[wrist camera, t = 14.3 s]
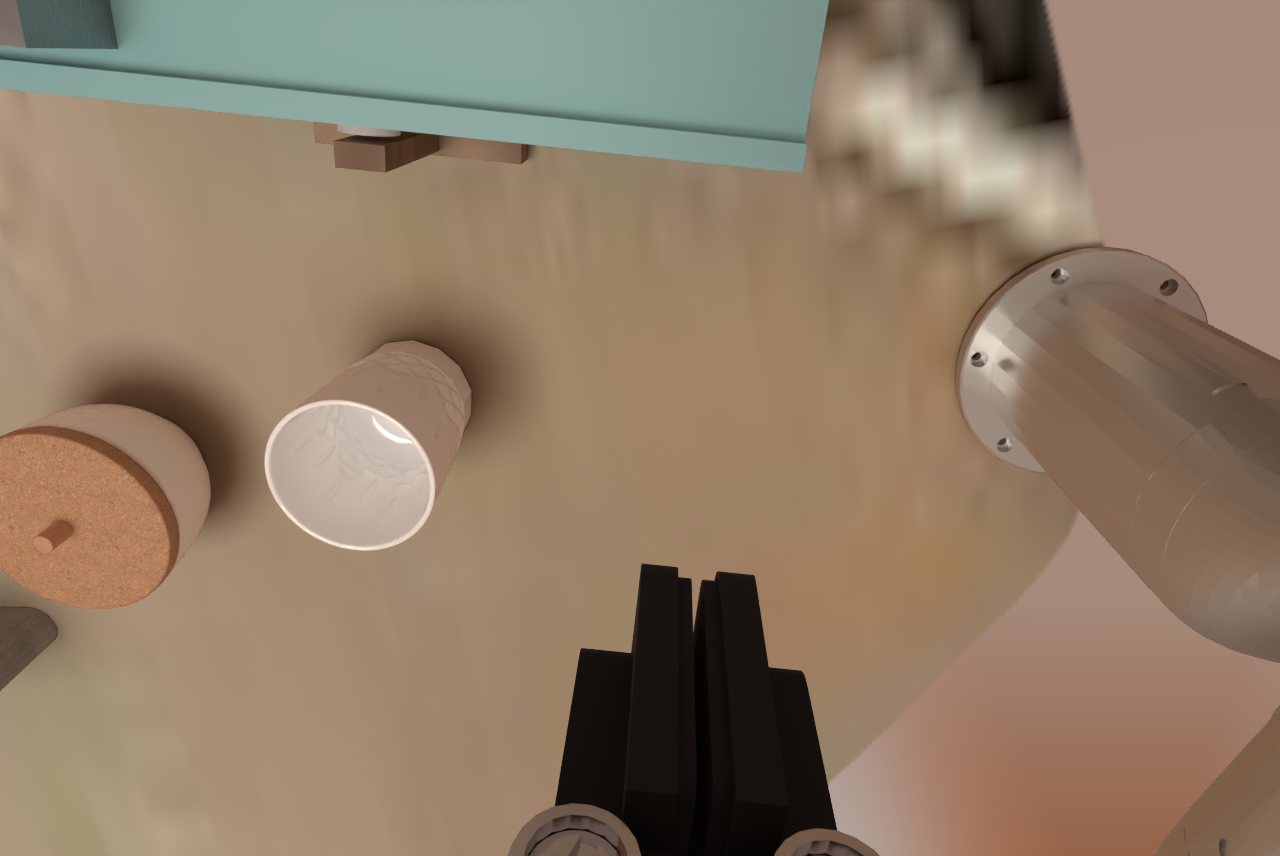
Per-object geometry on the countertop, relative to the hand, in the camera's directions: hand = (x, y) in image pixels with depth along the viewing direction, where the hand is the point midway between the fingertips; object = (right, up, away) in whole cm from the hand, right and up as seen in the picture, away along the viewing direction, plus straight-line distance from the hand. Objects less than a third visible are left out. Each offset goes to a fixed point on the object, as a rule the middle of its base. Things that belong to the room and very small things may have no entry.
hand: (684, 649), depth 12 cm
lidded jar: (-30, +2, +36) cm, 47 cm away
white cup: (-14, +5, +34) cm, 37 cm away
